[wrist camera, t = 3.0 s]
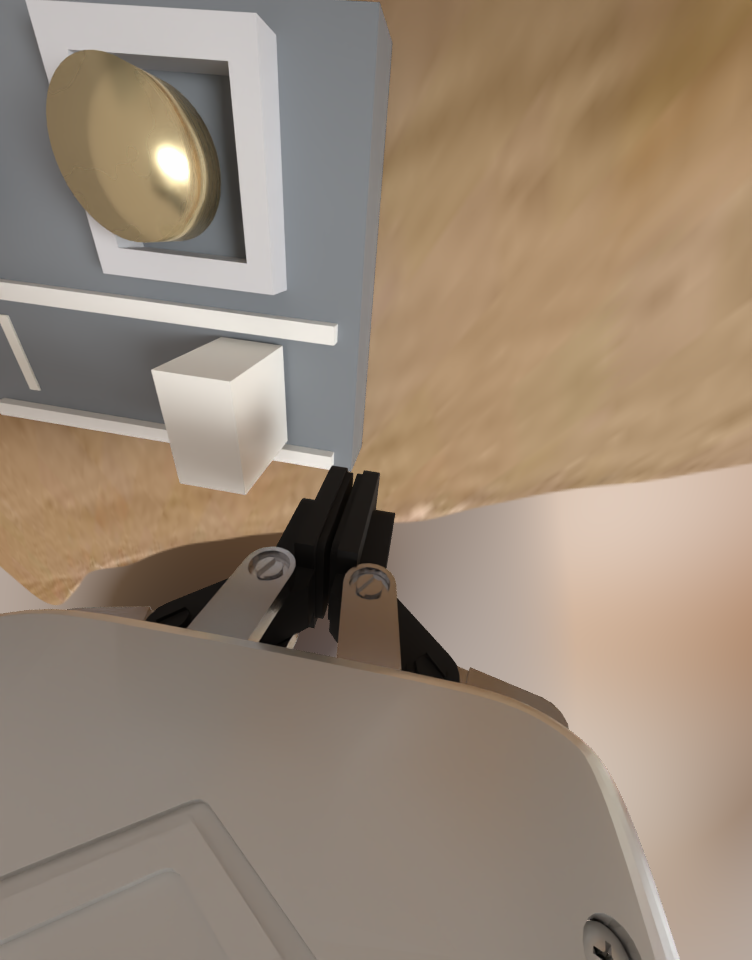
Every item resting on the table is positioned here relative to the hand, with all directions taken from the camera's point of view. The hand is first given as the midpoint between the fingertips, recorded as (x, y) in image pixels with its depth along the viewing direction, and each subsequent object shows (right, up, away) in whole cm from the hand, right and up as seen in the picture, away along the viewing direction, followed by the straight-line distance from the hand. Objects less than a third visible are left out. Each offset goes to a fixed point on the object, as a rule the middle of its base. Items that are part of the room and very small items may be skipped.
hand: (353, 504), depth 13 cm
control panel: (-11, +12, +6) cm, 18 cm away
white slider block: (-5, +5, +6) cm, 9 cm away
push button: (-7, +12, 0) cm, 14 cm away
